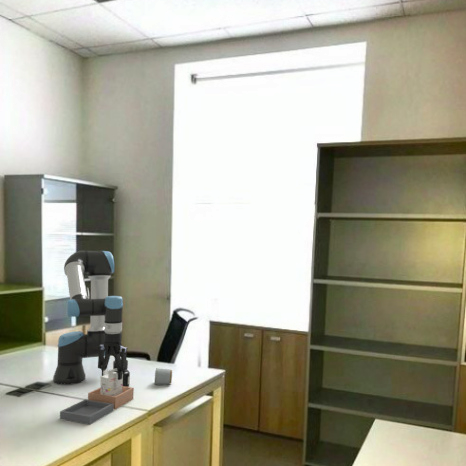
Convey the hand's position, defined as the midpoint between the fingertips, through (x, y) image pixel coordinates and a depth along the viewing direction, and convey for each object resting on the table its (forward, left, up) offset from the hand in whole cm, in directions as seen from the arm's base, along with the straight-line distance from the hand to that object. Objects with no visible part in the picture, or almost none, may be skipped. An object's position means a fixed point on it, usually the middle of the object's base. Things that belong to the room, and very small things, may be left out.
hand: (111, 386), depth 194 cm
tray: (0, -16, -7) cm, 17 cm away
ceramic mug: (+7, +32, -7) cm, 34 cm away
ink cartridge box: (0, 0, -7) cm, 7 cm away
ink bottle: (-9, +20, -7) cm, 23 cm away
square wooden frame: (0, 0, -7) cm, 7 cm away
